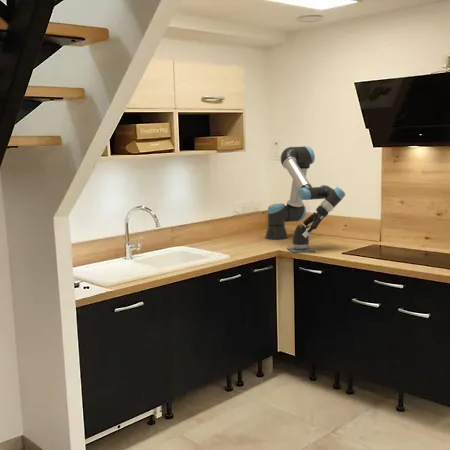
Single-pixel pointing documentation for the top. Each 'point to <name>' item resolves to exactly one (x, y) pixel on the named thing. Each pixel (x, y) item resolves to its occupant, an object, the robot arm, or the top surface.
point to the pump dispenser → (300, 238)
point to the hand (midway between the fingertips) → (300, 234)
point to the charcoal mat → (300, 250)
